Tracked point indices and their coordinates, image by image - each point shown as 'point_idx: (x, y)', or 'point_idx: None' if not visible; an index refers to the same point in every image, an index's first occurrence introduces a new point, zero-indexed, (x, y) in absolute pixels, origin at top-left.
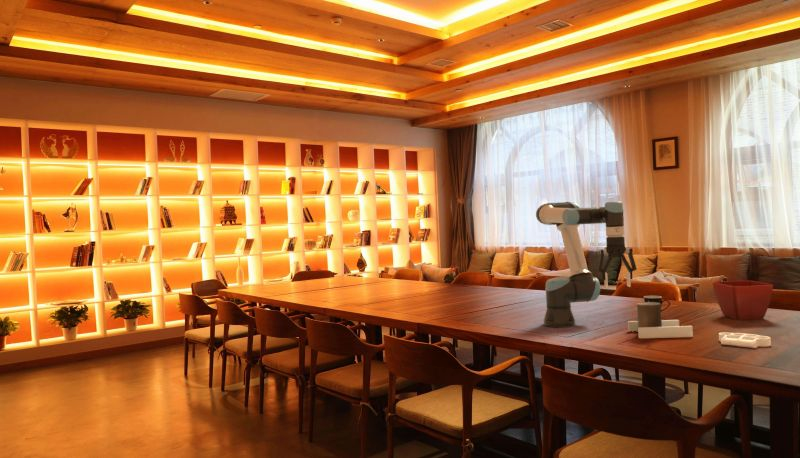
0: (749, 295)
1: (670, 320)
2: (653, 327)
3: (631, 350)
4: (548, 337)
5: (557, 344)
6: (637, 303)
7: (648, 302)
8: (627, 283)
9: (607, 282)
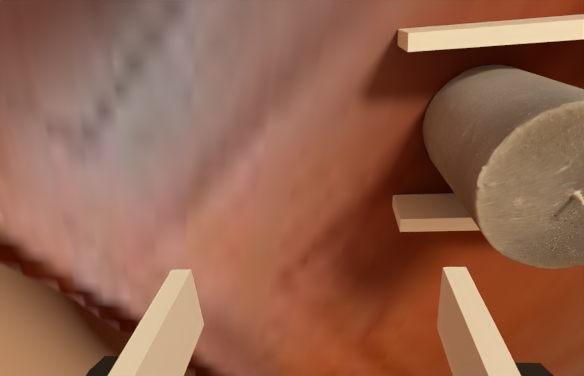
0: None
1: None
2: (476, 229)
3: (304, 362)
4: (2, 150)
5: (63, 269)
6: (488, 170)
7: (577, 198)
8: (450, 315)
9: (181, 374)
